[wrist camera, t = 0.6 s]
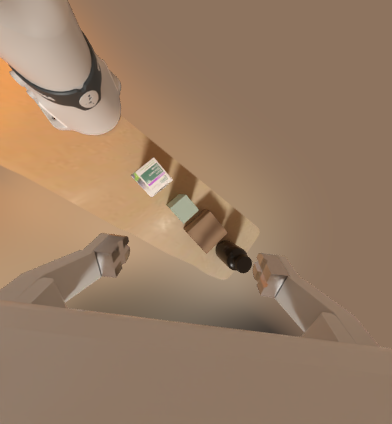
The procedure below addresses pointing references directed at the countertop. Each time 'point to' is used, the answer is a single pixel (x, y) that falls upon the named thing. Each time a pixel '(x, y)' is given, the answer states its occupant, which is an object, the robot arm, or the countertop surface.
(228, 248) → the supplement bottle
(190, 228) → the block
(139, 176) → the syrup box
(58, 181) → the countertop surface
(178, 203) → the sage block
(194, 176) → the countertop surface
